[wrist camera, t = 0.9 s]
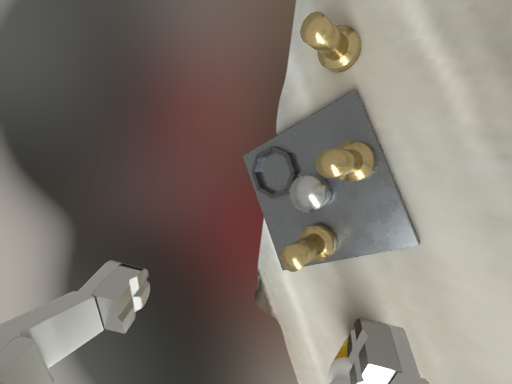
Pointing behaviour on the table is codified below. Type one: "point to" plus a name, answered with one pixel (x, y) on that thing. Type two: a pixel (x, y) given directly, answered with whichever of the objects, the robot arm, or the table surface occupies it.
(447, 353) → the table surface
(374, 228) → the carrier plate
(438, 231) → the table surface
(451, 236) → the table surface
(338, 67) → the gold flared cylinder
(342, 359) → the supplement bottle
